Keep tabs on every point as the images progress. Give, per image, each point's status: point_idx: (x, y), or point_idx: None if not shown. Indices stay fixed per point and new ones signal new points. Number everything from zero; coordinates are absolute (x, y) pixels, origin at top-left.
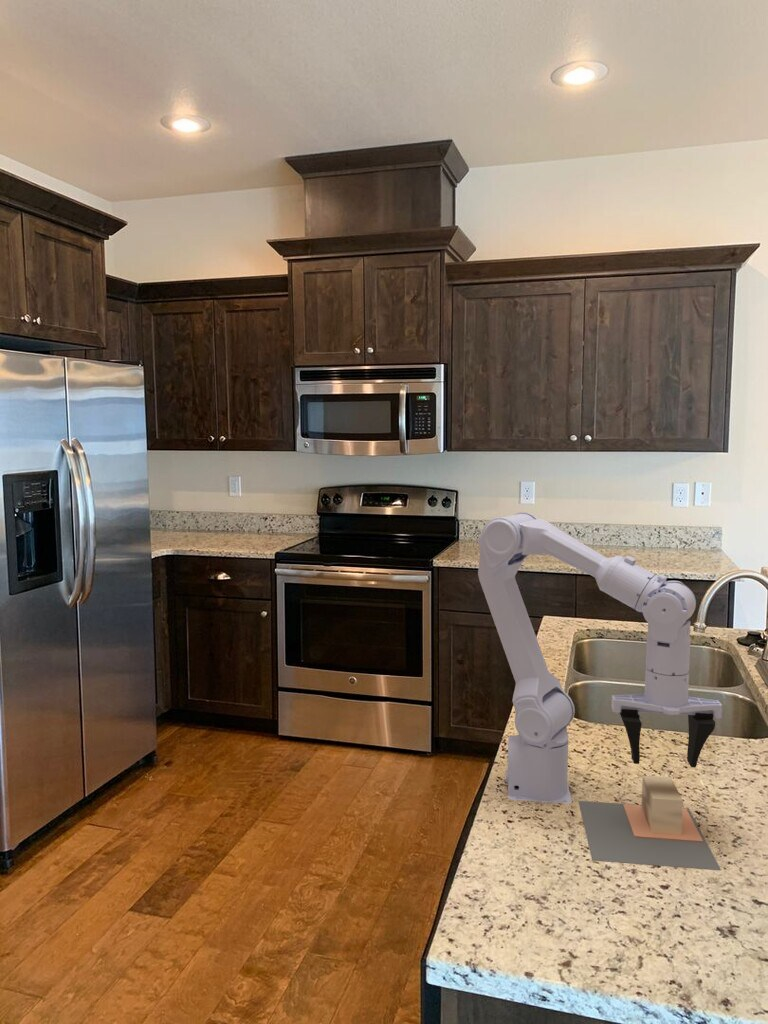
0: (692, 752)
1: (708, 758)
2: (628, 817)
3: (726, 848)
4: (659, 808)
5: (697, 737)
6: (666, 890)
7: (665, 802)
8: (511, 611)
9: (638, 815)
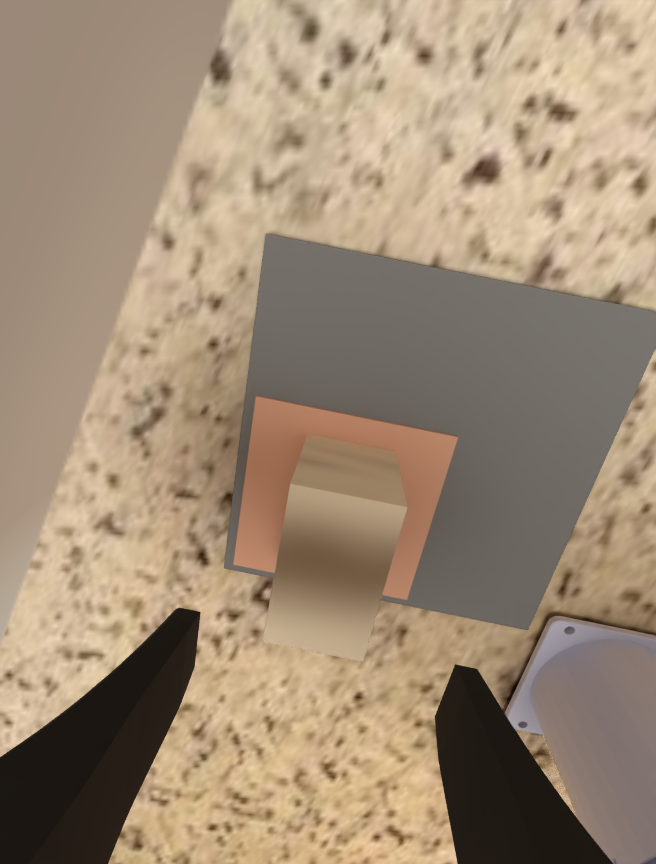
0: (161, 681)
1: None
2: (426, 533)
3: (193, 379)
4: (377, 482)
5: (72, 779)
6: (488, 147)
7: (357, 490)
8: None
9: None
